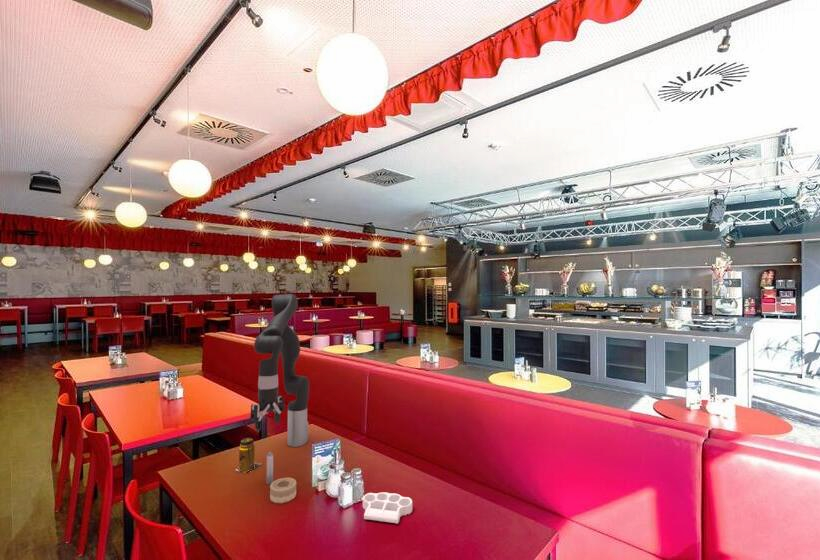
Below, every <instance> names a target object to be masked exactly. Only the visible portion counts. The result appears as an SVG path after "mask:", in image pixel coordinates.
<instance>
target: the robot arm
mask: <svg viewBox="0 0 820 560" xmlns="http://www.w3.org/2000/svg"><path fill="white" fill-rule="evenodd" d="M298 303H299V302H298V297H297V296H296V294H293V293H285V294H275V295H273V296H272V298H271V307H272V309H271V310H272V314H273V317H272V318H271V319H270V320H269V322H268V323H267V326H266V328H265V329H264V330H263V331H262V332H261V333H260V334H258V335H257V337H256V338H255V340H254V343H253V348H254V351H255V352H256V353H258V354H261V355H262V354H264V355H265V354H267V355H268V354H271V357H268V358H264V359H262V360H260V361H259V363H258V378H257V379H258V381H257V386H258V387H257V398H258V402H257V403H256V404H253V403H252V404H251V405H250V418H249V419H250V421H254V423H255V426H254V427H255V429H256V431H262V418H263V417H264V416H265V415H266V413H267V414H268V413H269V412H274V415H273V417H274V418H273V419H274V420H273V421H274V424H277V425H278V424H279V423H280V421H281V413H282V412H284V411H285V397H284V396H281V395H279V375H278V371H279V370H278V369H279V358H280V356H281V362H282V372H283V384H284V386H283V387H284V391H285V392H286V393H287V394H288V395H293V396H296V398H295V399H294V400H291V401H290V402H288V404H287V446H289V447H292V448H293V447H294V448H296V447H297V448H298V447H302V446H304V445H306V444H307V442H308V441H309V421H308V403H309V396H310V395H309V394H310V380H309V378H308V377H307V376H306V375H305V376H304V375H296V371H295V365H296V362H297V361H298V358H299V356H300V352H301V346H300V339H299V336H298V335H297V333H296V331H294V330H293V328H291V327H290V325H289V324H288V323H289V321H290V320H291V319H292V317H293V316H294V315H295V313H296V312H297V309H298Z"/></svg>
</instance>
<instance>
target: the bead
mask: <svg viewBox="0 0 820 560" xmlns="http://www.w3.org/2000/svg"><path fill="white" fill-rule="evenodd" d="M296 496H297V481H296V479H295V478H292V477H282V478H278V479H275V480H273V482H272V484H269V499H270V502H272V503H274V504H284V503H288V502H290V501H292V500H294V499H295V497H296Z"/></svg>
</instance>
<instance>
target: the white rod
mask: <svg viewBox="0 0 820 560" xmlns="http://www.w3.org/2000/svg"><path fill="white" fill-rule="evenodd" d="M272 482H274V454H273V452H272V451H268V452H267V454H266V484H267V485H271V484H272Z"/></svg>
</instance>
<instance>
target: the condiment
mask: <svg viewBox="0 0 820 560" xmlns="http://www.w3.org/2000/svg"><path fill="white" fill-rule="evenodd" d="M254 441H255V440H254V439H253V438H252V437H251V438H250V437H246V438H243V439H241V440H240V442H239V443H240V444H239V448H238V453H239V456H238V457H239V458H238V468H239V470H240V471H248V470H251V469H254V470H255V469H257V468H258V467H260V466H261V465H263V463H259V462H256V461H255V451H256V450H255V444H254ZM254 465H255V468H254ZM239 470H238V469H237V468H236V469H234V471H237V472H240V471H239Z"/></svg>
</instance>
